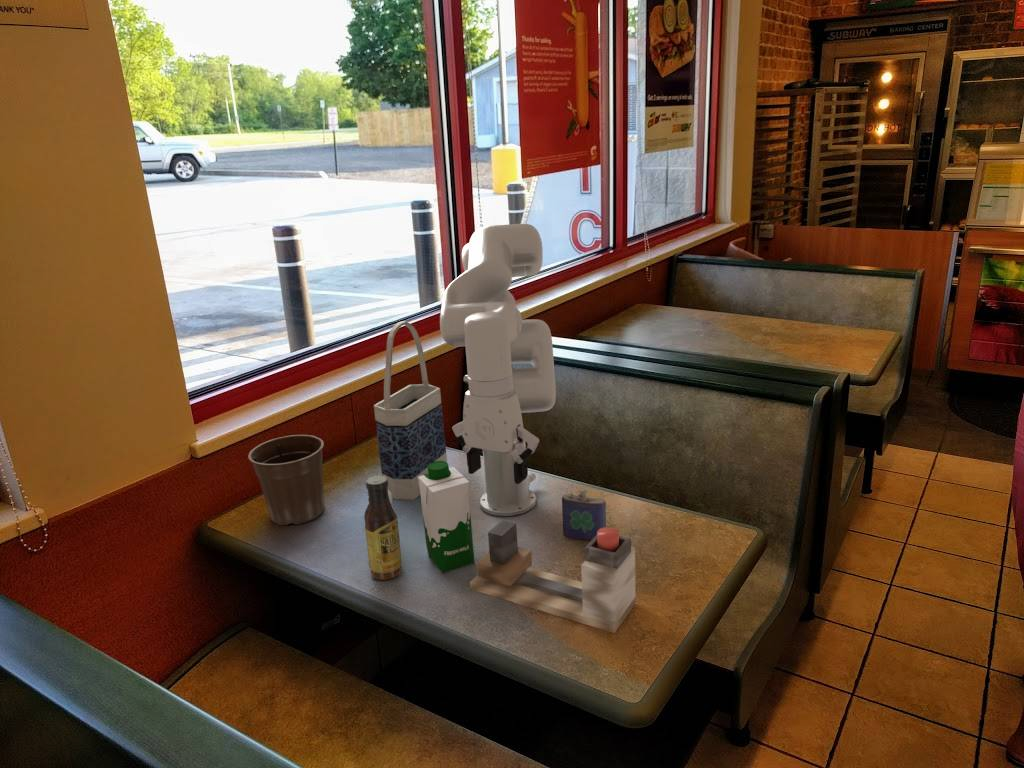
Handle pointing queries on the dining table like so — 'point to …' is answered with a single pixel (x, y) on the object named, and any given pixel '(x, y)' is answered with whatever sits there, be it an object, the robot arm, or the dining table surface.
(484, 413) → the robot arm
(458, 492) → the milk carton
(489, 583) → the rail
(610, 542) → the red dome button
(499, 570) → the carriage
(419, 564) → the dining table surface
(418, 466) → the bag
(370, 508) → the sauce bottle
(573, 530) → the flask
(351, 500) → the dining table surface
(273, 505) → the plant pot
